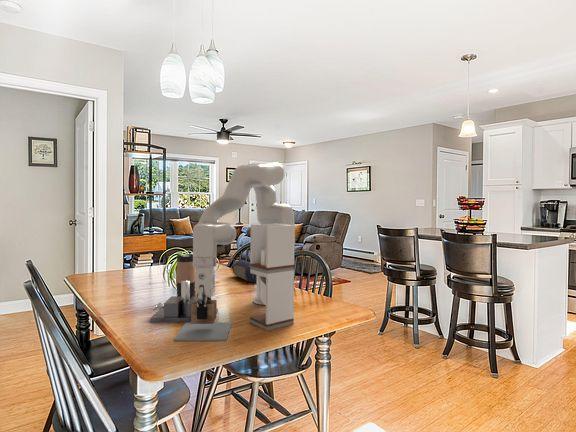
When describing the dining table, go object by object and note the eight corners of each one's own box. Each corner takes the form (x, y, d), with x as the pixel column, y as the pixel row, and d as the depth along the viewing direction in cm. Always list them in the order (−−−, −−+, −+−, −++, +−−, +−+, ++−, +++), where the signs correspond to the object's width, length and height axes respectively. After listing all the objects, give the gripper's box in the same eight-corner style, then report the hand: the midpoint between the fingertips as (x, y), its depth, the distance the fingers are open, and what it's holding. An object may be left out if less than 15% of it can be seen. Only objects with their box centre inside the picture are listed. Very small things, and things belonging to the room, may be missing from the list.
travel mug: (190, 304, 156) (190, 256, 156) (173, 303, 158) (173, 256, 157) (198, 299, 164) (198, 254, 163) (181, 298, 166) (181, 253, 165)
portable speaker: (230, 276, 216) (230, 259, 216) (246, 275, 221) (246, 258, 221) (248, 285, 195) (249, 265, 195) (265, 283, 200) (266, 264, 200)
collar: (216, 317, 127) (216, 299, 127) (213, 323, 120) (213, 305, 120) (195, 317, 127) (195, 299, 127) (191, 323, 120) (191, 305, 120)
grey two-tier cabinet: (275, 316, 141) (276, 223, 140) (293, 324, 133) (294, 225, 132) (249, 322, 134) (250, 224, 133) (267, 330, 126) (268, 226, 124)
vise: (217, 312, 146) (217, 277, 145) (212, 322, 134) (212, 284, 133) (160, 312, 145) (160, 277, 144) (150, 322, 133) (150, 284, 132)
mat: (231, 324, 132) (231, 322, 132) (225, 340, 116) (225, 338, 116) (185, 324, 131) (185, 322, 131) (173, 341, 115) (173, 339, 115)
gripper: (211, 266, 114) (211, 324, 115) (220, 257, 132) (219, 308, 132) (187, 265, 114) (186, 323, 114) (198, 257, 131) (198, 308, 132)
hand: (204, 315), depth 123 cm, fingers closed on collar, 7 cm apart
